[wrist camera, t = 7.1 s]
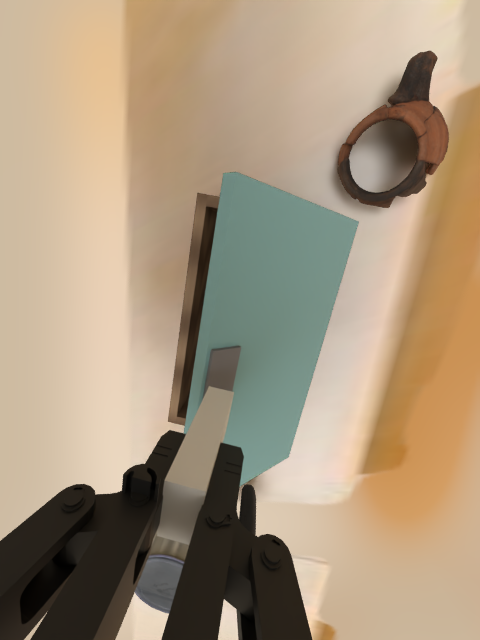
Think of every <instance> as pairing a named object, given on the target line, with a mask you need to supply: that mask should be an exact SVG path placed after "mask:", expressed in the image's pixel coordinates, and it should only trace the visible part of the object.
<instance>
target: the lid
mask: <svg viewBox="0 0 480 640" xmlns="http://www.w3.org/2000/svg"><path fill="white" fill-rule="evenodd" d="M358 223H359V222H358V221H356V220H353V219H351V218H349V217H346V216H344V215H341V214H339V213H336V212H334V211H331V210H329V209H326V208H324V207H321V206H319V205H317V204H314V203H312V202H309V201H307V200H304V199H302V198H299V197H297V196H294V195H292V194H289V193H287V192H285V191H282V190H280V189H277V188H275V187H272V186H270V185H267V184H265V183H262V182H260V181H258V180H255V179H253V178H250V177H248V176H245V175H243V174H240V173H238V172H230V173H223V179H222V186H221V192H220V199H219V205H218V212H217V218H216V225H215V232H214V238H213V245H212V251H211V258H210V264H209V271H208V277H207V284H206V291H205V297H204V304H203V310H202V317H201V323H200V330H199V337H198V343H197V350H196V356H195V363H194V369H193V376H192V382H191V389H190V396H189V402H188V409H187V415H186V422H185V428H184V434H187V432H188V430H189V428H190V425H191V423H192V421H193V419H194V417H195V415H196V413H197V411H198V409H199V406H200V404H201V402H202V400H203V398H204V396H205V394H206V392H207V390H208V387H209V386H210V387H215V388H219V389H223V390H227V391H231V392H234V395H233V400H232V405H231V409H230V414H229V419H228V424H227V429H226V433H225V437H224V440H223V443H225V444H229V445H233V446H237V447H241V449H242V452H243V455H244V460H243V466H242V473H241V480H240V486H241V485H243V484H244V483H246V482H248V481H249V480H251V479H253V478H254V477H256V476H258V475H259V474H261V473H263V472H264V471H266V470H268V469H269V468H271V467H273V466H274V465H276V464H278V463H279V462H281V461H283V460H284V459H286V458H288V457H289V454H290V450H291V447H292V444H293V440H294V437H295V434H296V430H297V427H298V424H299V420H300V417H301V413H302V410H303V407H304V403H305V400H306V397H307V393H308V390H309V387H310V383H311V380H312V377H313V373H314V370H315V367H316V363H317V360H318V357H319V353H320V350H321V347H322V343H323V340H324V336H325V333H326V330H327V326H328V323H329V320H330V316H331V313H332V310H333V306H334V303H335V300H336V296H337V293H338V290H339V286H340V283H341V280H342V276H343V273H344V269H345V266H346V263H347V259H348V256H349V253H350V249H351V246H352V243H353V239H354V236H355V233H356V229H357V226H358Z"/></svg>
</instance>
